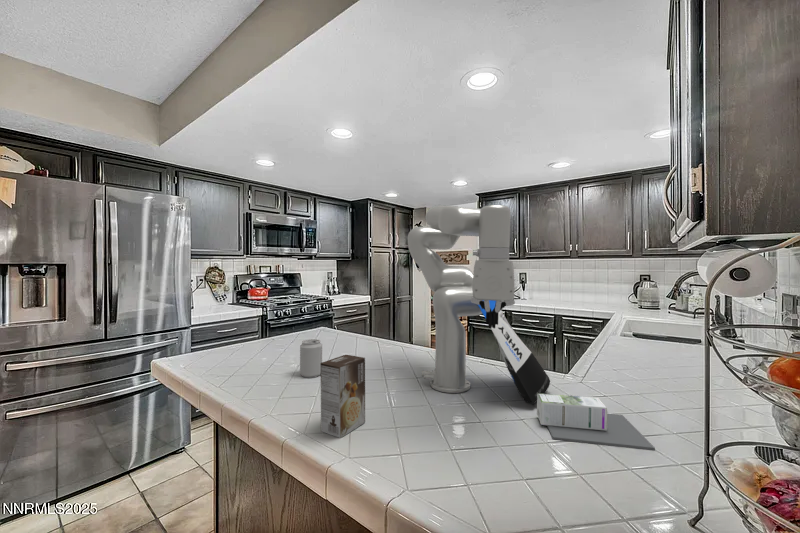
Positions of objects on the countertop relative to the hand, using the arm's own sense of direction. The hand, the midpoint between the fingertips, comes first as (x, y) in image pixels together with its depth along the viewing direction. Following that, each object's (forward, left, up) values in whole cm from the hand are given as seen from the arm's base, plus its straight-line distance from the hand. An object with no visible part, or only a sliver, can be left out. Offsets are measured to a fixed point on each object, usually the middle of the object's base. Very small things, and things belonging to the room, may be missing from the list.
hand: (491, 326), depth 87 cm
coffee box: (-35, -14, -23) cm, 44 cm away
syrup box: (+11, -1, -19) cm, 22 cm away
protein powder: (+14, +18, -21) cm, 31 cm away
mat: (+23, -1, -23) cm, 32 cm away
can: (-60, +19, -23) cm, 67 cm away
